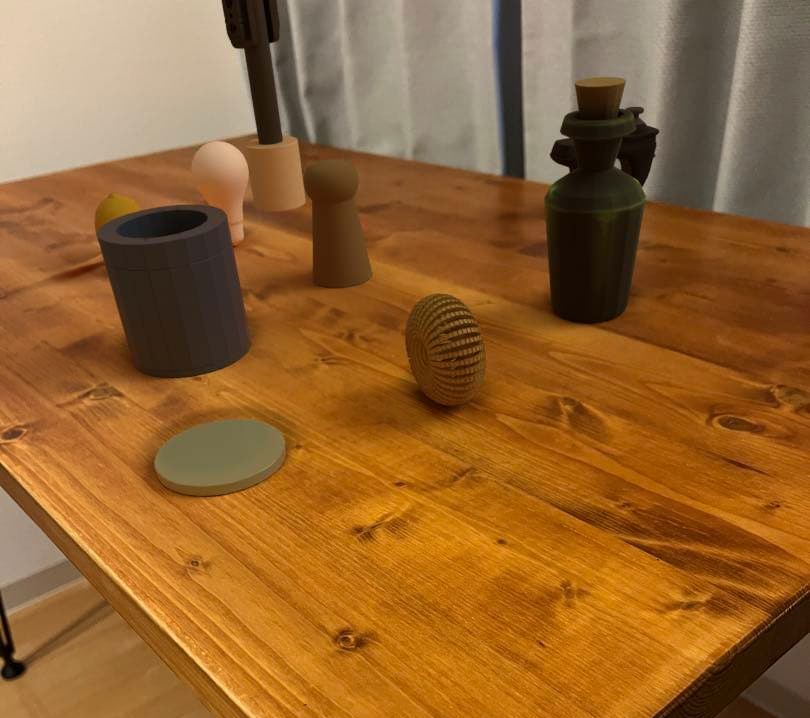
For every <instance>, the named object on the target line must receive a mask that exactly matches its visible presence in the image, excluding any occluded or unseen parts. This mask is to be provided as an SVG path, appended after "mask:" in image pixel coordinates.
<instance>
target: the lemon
mask: <svg viewBox="0 0 810 718" xmlns="http://www.w3.org/2000/svg"><path fill="white" fill-rule="evenodd" d="M141 210H142V208H141V207H140V205H139V204H138V203H137V202H135V200H133V199H131V198H130V197H127V196H125V195H120V194H119V193H117V192H116V191H115V192H110V193H109V194H108V196H107V197H106V198H104V199H103V200H102V201H100V203H99V204H98V206H97V207H96V210H95V214H94V230H95V235H96V239H97V242H98V243H99V241H98V238H97V232H98V230H99V229H100V227H101V226H103V225H105V224H106V223H108V222H109V221H111V220H113V219H116V218H119V217H121V216H124V215H126V214H130V213H133V212H137V211H141Z"/></svg>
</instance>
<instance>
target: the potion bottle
mask: <svg viewBox="0 0 810 718" xmlns="http://www.w3.org/2000/svg"><path fill="white" fill-rule="evenodd" d="M626 82H627V80H626V78H623V77H617V76H597V77H587V78H583V79H579V80H576V81H575V82H574V88H575V97H576V103H577V109H578V110H574V111H571V112H568V113H566V114H565V115H564V117H563V118H562V119H563V120H562V123H561V126H560V129H559V132H560V134H561V136H564V137H567V138H571V139H573V144H574V149H575V153H576V158H577V163H578V168H576V169H574V170H573V171H571V172H570V171H569V172H568V173H567V174H565V175H564V176H562V177H560V178H558V179H557V180H556V181H554V182H553V183H552V184H551V185H550V187H549V189H548V191H547V192H546V195H545V196H544V198H543V201H544V202H543V203H544V215H545V231H546V246H547V261H548V271H549V272H548V275H549V289H550V304H551V308H552V311H553V312H554V313H555V314H556V315H557V316H559V317H561V318H562V319H564V320H568V321H572V322H580V323H599V322H605V321H609V320H614V319H615V318H618V317H619V316H621V315H622V314H623V313H624V312H625V311H626V309H627V307H628V306H629V299H630V295H631V287H632V282H633V275H634V270H635V264H636V258H637V253H638V247H639V240H640V234H641V228H642V223H643V217H644V210H645V204H646V199H647V195H646V194H645V191H644V189H643V187H641V184H640V183H639V182H638V181H637V180H636V179H635V178H633V177H632V176H630V175H628V174H627V173H625V172H623V171H622V170H621V168H618V167H617V166H615V163H616V160H617V159H616V157H617V154H618V151H619V147H620V144H621V141H622V137H624V136H626V135H628V134H630V133H632V132H634V131H635V130H636V129H637V128H636V123H635V119H634V115H633V113H632V112H631V111H629V110H625V109H626V108H620V107H621V103H622V99H623V95H624V91H625V86H626Z"/></svg>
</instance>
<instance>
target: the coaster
mask: <svg viewBox="0 0 810 718" xmlns="http://www.w3.org/2000/svg"><path fill="white" fill-rule="evenodd" d="M287 453H288V452H287V445H286V439H285V436H284V435H283V433H282V432H281V431H280V429H278V428H276V426H273V425H272V424H270V423H267V422H264V421H261V420H255V419H249V418H230V419H220V420H213V421H209V422H205V423H202V424H198V425H195V426H193V427H190V428H187V429H185V430H183V431H181V432H179V433H177V434H176V435H174V436H172V437H171V438H170V439H168V440H167V441H165V442H164V443H163V444H162V445H161V447H160V448H159V449H158V451H157V452H156V455H155V457H154V461H153V464H154V465H153V466H154V470H155V473H156V474H155V475H156V476H157V478H158V480H159V482H160V483H161V484H162V485H163V486H164V487H165V488H167V489H169V490H171V491H172V492H174V493H177V494H182V495H186V496H187V495H188V496H194V497H209V496H210V497H211V496H221V495H228V494H232V493H236V492H239V491H243V490H246V489H248V488H251V487H253V486H255V485H258V484H260V483H262V482H264V481H265V480H267V479H268V478H269V477H271V476H273V475H274V474H275V473H276V472H277V471H278V470H280V468H281V467H282V466H283V464H284V462H285V460H286V458H287Z"/></svg>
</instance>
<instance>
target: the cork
mask: <svg viewBox="0 0 810 718" xmlns="http://www.w3.org/2000/svg"><path fill="white" fill-rule="evenodd" d="M303 184H304V191H305V194H306V195H307V196H308V198H309V199H310V200H311V218H312V219H311V223H312V224H311V225H312V226H311V227H312V229H311V230H312V231H311V232H312V233H311V234H312V281H313V282H314V284H316V285H317V286H319V287H324V288H333V289H334V288H335V289H336V288H347V287H353V286H357V285H360V284H363V283H365V282H367V281H369V280H370V279H371V278H372V276H373V270H372V265H371V262H370V258H369V253H368V249H367V245H366V241H365V240H366V239H365V236H364V231H363V227H362V224H361V219H360V214H359V210H358V206H357V202H356V197H355V195H356V193H357V192H358V189H359V173H358V171H357V169H356V167H355V166H354V164H353V163H352V162H350V161H348V160H346V159H341V158H340V159H338V158H329V159H323V160H319V161H316V162H314V163H313V162H312V163H311V164H310V165H308V166H307V167H306V169H305V171H304V174H303Z"/></svg>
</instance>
